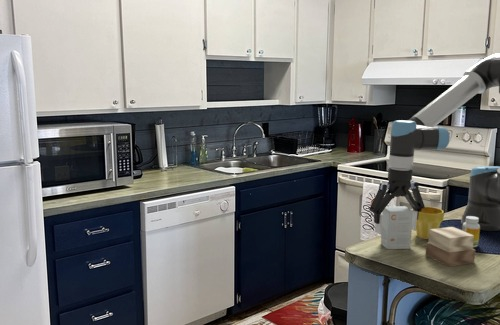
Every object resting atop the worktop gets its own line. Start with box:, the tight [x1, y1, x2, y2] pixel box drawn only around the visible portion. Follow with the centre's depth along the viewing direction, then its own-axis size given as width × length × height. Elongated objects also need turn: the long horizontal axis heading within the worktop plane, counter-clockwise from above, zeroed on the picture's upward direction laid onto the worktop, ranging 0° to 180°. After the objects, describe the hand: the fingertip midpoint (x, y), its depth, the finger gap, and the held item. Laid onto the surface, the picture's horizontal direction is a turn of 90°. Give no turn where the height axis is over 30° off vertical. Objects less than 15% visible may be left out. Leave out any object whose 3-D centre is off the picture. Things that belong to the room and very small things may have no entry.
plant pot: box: [415, 205, 445, 240], centre depth 173 cm, size 10×10×10 cm
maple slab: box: [428, 226, 474, 253], centre depth 152 cm, size 9×9×4 cm
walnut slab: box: [425, 241, 476, 267], centre depth 153 cm, size 10×10×4 cm
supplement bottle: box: [461, 216, 481, 248], centre depth 165 cm, size 5×5×10 cm
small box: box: [380, 205, 413, 250], centre depth 162 cm, size 8×6×13 cm
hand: (395, 231), depth 163 cm, fingers open, 13 cm apart
